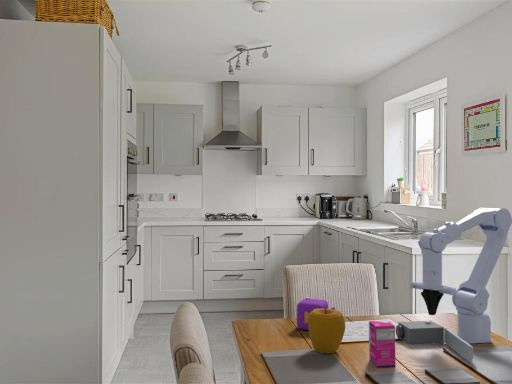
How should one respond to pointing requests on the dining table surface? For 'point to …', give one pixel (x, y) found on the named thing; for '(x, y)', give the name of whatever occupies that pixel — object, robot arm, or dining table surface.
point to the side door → (458, 344)
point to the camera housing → (420, 332)
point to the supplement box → (382, 344)
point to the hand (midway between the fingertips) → (432, 314)
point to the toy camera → (308, 310)
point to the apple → (326, 329)
